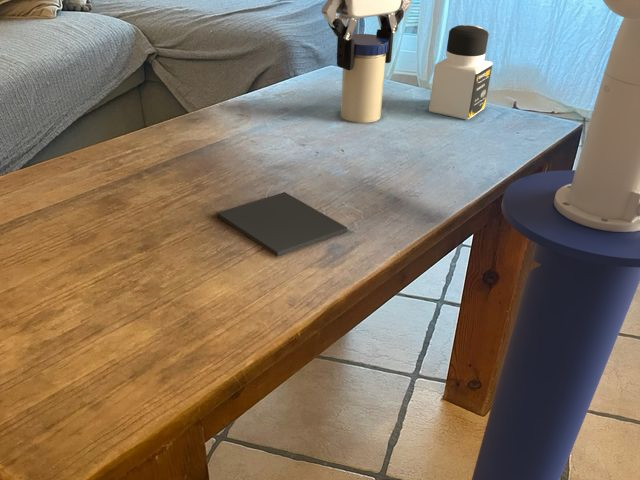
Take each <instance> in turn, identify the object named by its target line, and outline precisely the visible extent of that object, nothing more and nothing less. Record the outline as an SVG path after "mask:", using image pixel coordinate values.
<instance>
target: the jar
mask: <svg viewBox="0 0 640 480" xmlns="http://www.w3.org/2000/svg"><path fill="white" fill-rule="evenodd" d="M385 60H386V53H385V54H382V55H377V56H360V55H354V63H353V69H352V70H346V69H344V68H342V78H341V79H342V80H341V97H340V98H341V99H340V100H341V101H340V102H341V103H340V117H341V119H343V120H344V121H345V120H346V121H348V122H352V123H360V124H366V123H367V124H368V123H373V122H377V121H379V120H380V119H381V116H382V106H383V105H382V104H383V94H384V82H385V71H386V70H385V69H386V63H385Z"/></svg>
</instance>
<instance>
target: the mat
mask: <svg viewBox="0 0 640 480" xmlns="http://www.w3.org/2000/svg"><path fill="white" fill-rule="evenodd" d="M216 216H217V218H219V219H221V220H222V221H224V222H225V223H226V224H228V225H229V226H231V227H232V228H234V229H235V230H237V231H239V232H240V233H242V234H243V235H244V236H246V237H247V238H249V239H251V240H252V241H253V242H255V243H256V244H258V245H260V246H261V247H263V248H264V249H265V250H267V251H268V252H270V253H272V254H273V255H275V256H276V257H280V256H283V255H286V254H289V253H292V252H294V251H297V250H299V249H302V248H305V247H307V246H310V245H313V244H316V243H319V242H322V241H324V240H327V239H330V238H332V237H335V236H338V235H341V234H344V233H346V232H348V227H347V226H345V225H343V224H342V223H340V222H338V221H336V220H335V219H333V218H331V217H329V216H327V215H326V214H324V213H322V212H321V211H319V210H317V209H315V208H314V207H312V206H310V205H309V204H306V203H305V202H303V201H302V200H300V199H298V198H297V197H294V196H292V195H291V194H290V193H288V192H286V191H283V192H280V193H276V194H273V195H271V196H270V195H269V196H267V197H263V198H260V199H257V200H253V201H250V202H248V203H244V204H241V205H238V206H234V207H231V208H227V209H225V210H221V211H217V212H216Z"/></svg>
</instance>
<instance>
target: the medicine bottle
mask: <svg viewBox="0 0 640 480" xmlns="http://www.w3.org/2000/svg"><path fill="white" fill-rule="evenodd" d="M489 35H490V34H489V32H488V30H486V29H485V28H483V27H481V26H479V25H473V24H459V25H456V26H453V27H452V28H451V29H449V31H448V37H447V44H446V51H445V57H446V58H444V59H443V60H439V62H436V63H435V64H434V67H433V75H432V83H431V90H430V96H429V97H430V99H429V106H428V111H429V112H430V113H433V114H437V115H438V114H439V115H444V116H448V117H453V118H457V119H461V120H466V121H468V120H470V119H471V118H473V117H474V116H476V115H477V114H478V113H480V112H481V111H482V110H484V109H485V107H486V102H487V96H488V92H489V86H490V80H491V75H492V70H493V62H492V61H490V60H485V57H486V54H487V53H486V52H487V47H488V41H489Z"/></svg>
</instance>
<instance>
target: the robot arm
mask: <svg viewBox="0 0 640 480" xmlns="http://www.w3.org/2000/svg"><path fill="white" fill-rule="evenodd" d="M602 1H603V3H604V4H605V5H606V7H607V8H608V9H609V10H610V11H611V12H612V13H614V14H615V15H617V16H620V17H622V21H621V23H620V25H619V27H618V30H617V33H616V35H615V38H614V40H613V43H612V46H611V50H610V52H609V55H608V59H607V61H606V66H605V69H604V72H603V75H602V77H601V80H600V81H601V82H600V85H599V88H598V91H597V95H596V98H595V102H594V106H593V109H592V112H591V115H590V120H589V123H588V126H587V130H586V133H585V136H584V140H583V143H582V146H581V150H580V153H579V157H578V160H577V164H576V167H575V170H576V171H575V174H574V177H573V181H572V184H568V185H566V186H563V187H561V188H560V189H559V190H558V191H557V192H556V194H555V198H554V206H555V207H556V209H557V211H558V212H560V213H561V214H562V215H563V216H565V217H566V218H568V219H569V220H571V221H573V222H575V223H578V224H581V225H583V226H587V227H590V228H594V229H598V230H603V231H611V232H635V231H640V0H602ZM411 3H412V0H327V1H326V2H325V3H324V4H323V6H322V8H321V14H322V16H323V17H324V19H325V21H326V22H327V24H328V26H329V28H330V29H331V30H332V32H333V35H334V36H335V37H336V38H337V39H336V43H337V44H336V65H337V67H339V68H341V69H343V68H344V69H346V70H352V69H353V63H354V45H355V42H354V40H353V39H351V37H352V35H353V34H354V32H355V29H356V27H357V23H358V21H359V19H364V18H365V19H366V18H373V17H377V21H378V25H379V28H377V29H376V32H375V33H376V34H375V35H378V36H382V37H385V38H387V39H388V43H389V45H388V52H387V53H386V60H385V64H390V63H391V62H392V54H393V44H394V34H395V33H397V32H398V30H399V29H398V28H399V24H400V23H401V21H402V20H403V18H404V16H405V13H406V12H407V10H408V9H409V6H410V5H411ZM338 14H339V15H338Z"/></svg>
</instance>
